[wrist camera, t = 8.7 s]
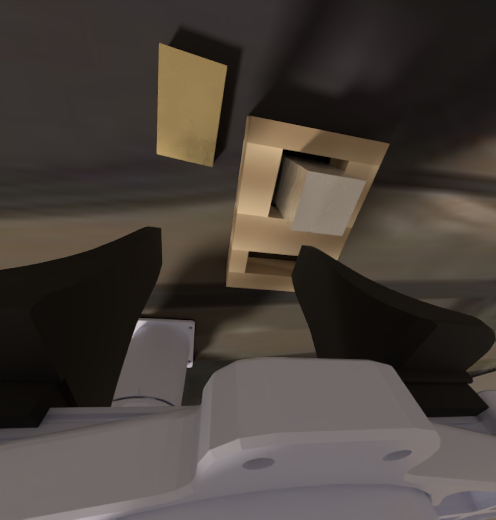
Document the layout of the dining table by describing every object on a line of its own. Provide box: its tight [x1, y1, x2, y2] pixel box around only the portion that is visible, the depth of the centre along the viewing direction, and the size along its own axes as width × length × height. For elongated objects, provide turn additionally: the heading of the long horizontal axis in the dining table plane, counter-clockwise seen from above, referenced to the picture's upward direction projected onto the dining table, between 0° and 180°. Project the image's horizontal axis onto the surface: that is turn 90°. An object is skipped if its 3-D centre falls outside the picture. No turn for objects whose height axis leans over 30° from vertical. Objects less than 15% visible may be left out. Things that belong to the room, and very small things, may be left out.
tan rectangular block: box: [157, 43, 227, 167], centre depth 15 cm, size 6×4×2 cm, turn 166°
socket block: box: [226, 116, 389, 292], centre depth 20 cm, size 14×10×3 cm
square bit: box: [272, 154, 366, 236], centre depth 16 cm, size 4×4×7 cm
